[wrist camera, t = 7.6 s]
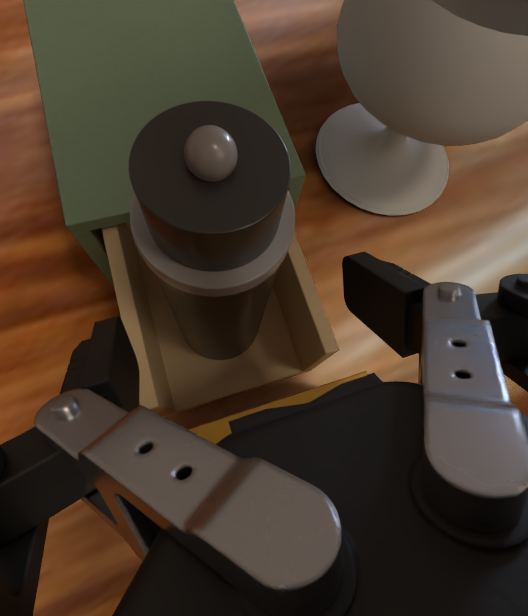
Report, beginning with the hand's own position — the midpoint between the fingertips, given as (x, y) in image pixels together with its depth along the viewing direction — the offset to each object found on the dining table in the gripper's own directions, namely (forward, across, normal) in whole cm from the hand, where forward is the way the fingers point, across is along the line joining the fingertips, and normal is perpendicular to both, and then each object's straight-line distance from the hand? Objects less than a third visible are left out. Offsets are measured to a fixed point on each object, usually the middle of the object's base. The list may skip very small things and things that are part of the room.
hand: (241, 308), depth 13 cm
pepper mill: (+10, 0, +6) cm, 12 cm away
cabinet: (+21, 0, -2) cm, 21 cm away
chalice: (+20, -18, 0) cm, 27 cm away
